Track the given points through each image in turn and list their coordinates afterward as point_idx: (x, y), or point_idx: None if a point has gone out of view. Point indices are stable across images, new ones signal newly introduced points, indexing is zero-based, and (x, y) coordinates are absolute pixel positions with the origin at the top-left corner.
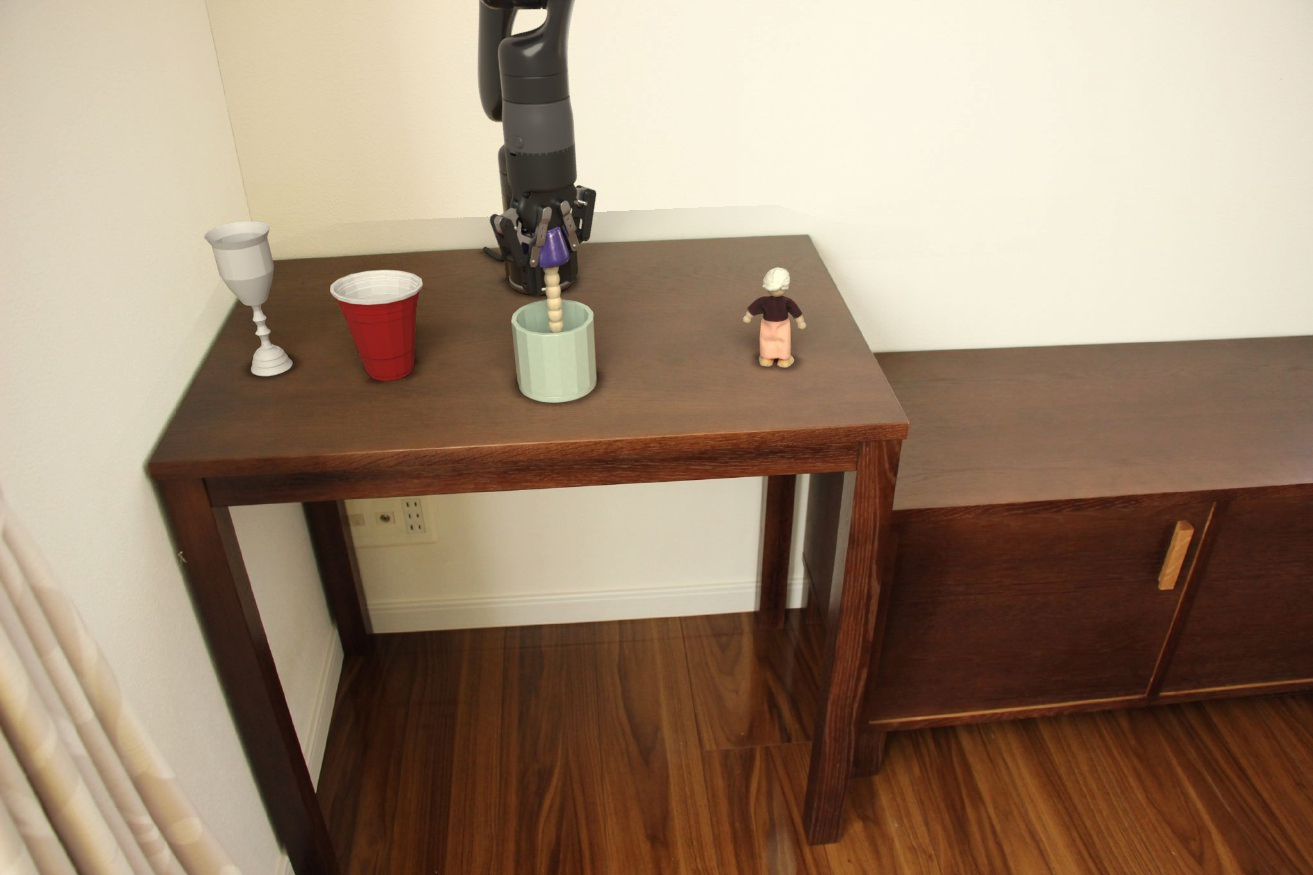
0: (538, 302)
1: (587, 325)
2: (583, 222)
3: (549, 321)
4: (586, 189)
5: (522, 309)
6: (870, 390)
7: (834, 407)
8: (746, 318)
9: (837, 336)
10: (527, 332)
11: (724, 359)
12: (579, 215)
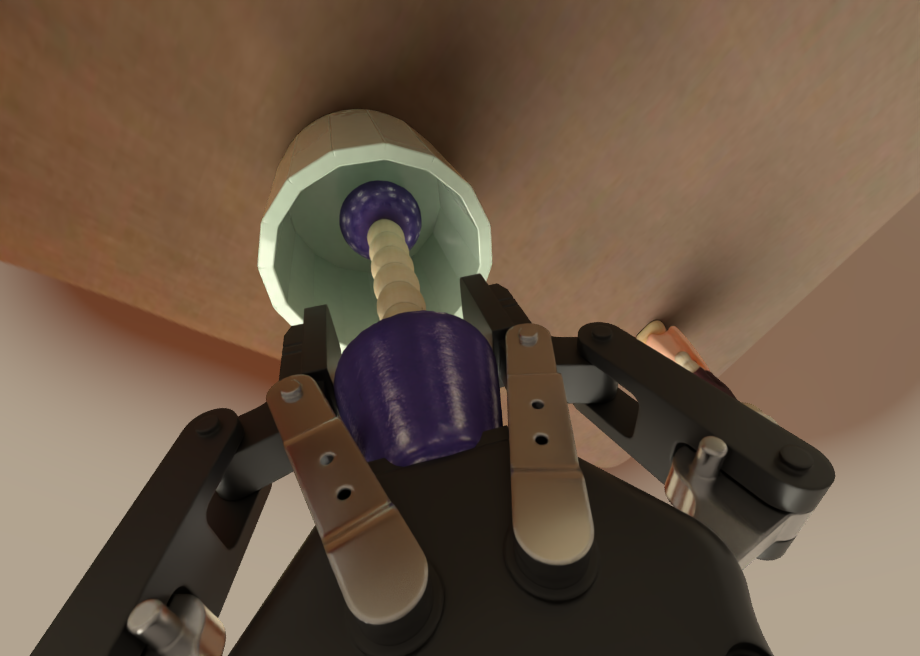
0: (400, 157)
1: None
2: (620, 441)
3: (376, 249)
4: (779, 539)
5: (330, 170)
6: None
7: (598, 439)
8: (680, 364)
9: (754, 328)
10: (277, 306)
11: (623, 298)
12: (645, 434)
